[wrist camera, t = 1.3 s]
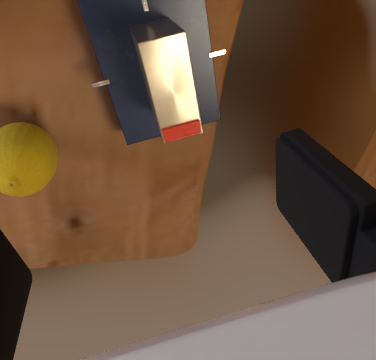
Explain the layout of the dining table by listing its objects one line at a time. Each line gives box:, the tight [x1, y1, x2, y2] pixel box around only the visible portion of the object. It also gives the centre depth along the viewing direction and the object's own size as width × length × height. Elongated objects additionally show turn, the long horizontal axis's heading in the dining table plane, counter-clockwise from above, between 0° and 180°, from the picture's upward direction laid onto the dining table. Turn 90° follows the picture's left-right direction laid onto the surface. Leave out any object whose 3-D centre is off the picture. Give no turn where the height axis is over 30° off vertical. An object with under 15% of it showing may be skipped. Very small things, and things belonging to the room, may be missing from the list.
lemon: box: [0, 122, 58, 196], centre depth 26 cm, size 6×6×8 cm
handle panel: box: [77, 0, 226, 145], centre depth 27 cm, size 12×11×3 cm
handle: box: [130, 17, 203, 144], centre depth 23 cm, size 7×3×6 cm, turn 11°
